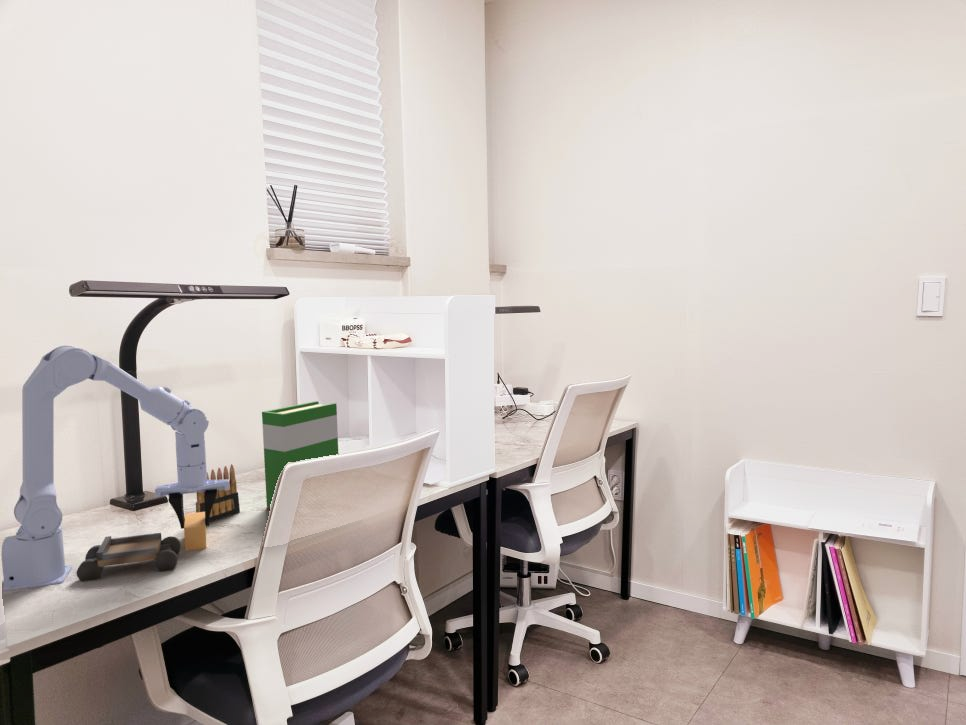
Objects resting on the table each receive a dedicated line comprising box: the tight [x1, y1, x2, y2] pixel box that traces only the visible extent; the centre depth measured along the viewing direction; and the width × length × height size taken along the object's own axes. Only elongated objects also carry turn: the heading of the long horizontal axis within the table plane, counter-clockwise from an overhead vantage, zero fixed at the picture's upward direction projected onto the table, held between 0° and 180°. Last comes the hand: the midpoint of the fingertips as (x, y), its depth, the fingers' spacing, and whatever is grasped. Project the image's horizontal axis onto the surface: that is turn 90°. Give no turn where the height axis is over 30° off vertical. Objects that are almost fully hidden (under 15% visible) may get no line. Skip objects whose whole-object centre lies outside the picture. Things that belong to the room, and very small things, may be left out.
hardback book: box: [261, 400, 339, 509], centre depth 176 cm, size 18×7×24 cm, turn 147°
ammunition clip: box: [195, 464, 241, 524], centre depth 165 cm, size 11×2×12 cm, turn 147°
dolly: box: [76, 532, 182, 582], centre depth 136 cm, size 17×9×6 cm, turn 109°
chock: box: [183, 512, 207, 552], centre depth 150 cm, size 4×10×5 cm, turn 22°
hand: (195, 525), depth 150 cm, fingers closed on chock, 4 cm apart
